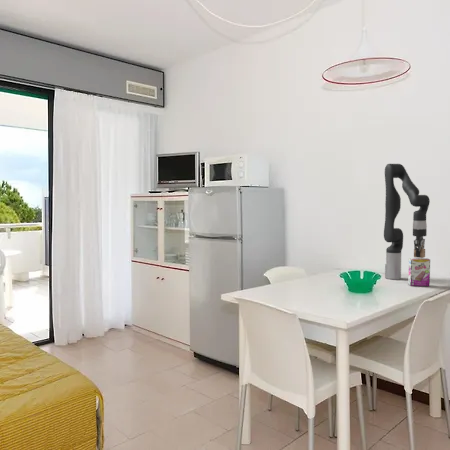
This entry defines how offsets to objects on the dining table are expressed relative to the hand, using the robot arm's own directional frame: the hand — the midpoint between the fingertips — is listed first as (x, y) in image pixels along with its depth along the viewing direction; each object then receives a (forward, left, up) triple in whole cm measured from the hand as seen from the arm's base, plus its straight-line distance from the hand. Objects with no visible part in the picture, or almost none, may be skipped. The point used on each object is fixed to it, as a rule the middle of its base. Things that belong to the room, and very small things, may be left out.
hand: (419, 256), depth 252 cm
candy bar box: (0, 0, -18) cm, 18 cm away
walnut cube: (0, 0, 0) cm, 0 cm away
